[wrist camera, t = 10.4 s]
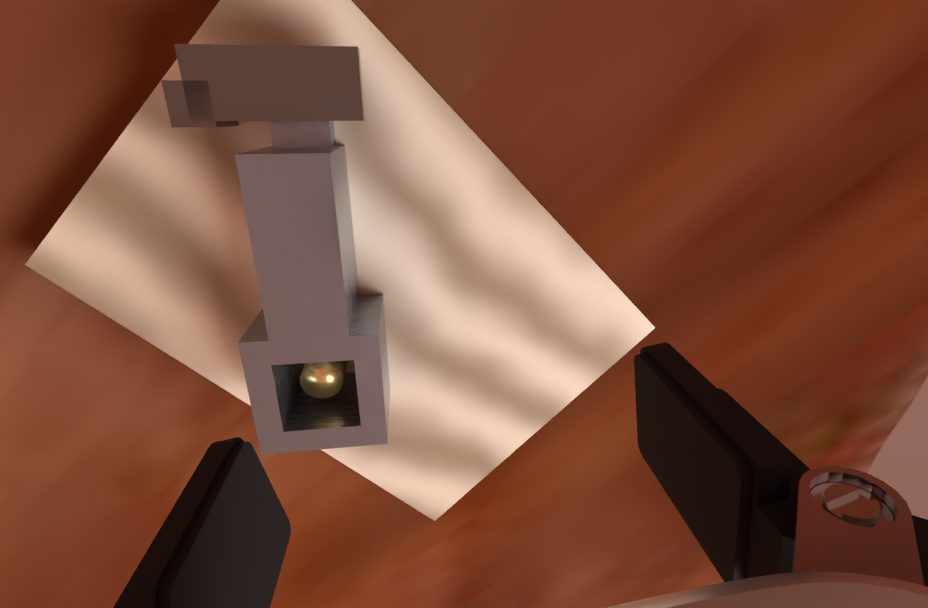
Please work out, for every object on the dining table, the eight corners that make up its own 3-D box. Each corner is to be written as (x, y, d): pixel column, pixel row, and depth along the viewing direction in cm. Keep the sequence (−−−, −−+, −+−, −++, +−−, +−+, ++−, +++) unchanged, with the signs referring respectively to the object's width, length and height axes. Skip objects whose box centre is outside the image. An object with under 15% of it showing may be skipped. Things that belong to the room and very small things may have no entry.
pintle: (333, 311, 32) (317, 354, 26) (360, 332, 32) (351, 378, 27) (310, 335, 32) (291, 382, 26) (338, 355, 33) (324, 405, 27)
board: (287, -64, 24) (277, -79, 22) (641, 316, 35) (655, 327, 33) (49, 254, 28) (25, 264, 26) (433, 501, 39) (434, 520, 37)
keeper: (199, 57, 25) (152, 43, 20) (365, 59, 26) (357, 46, 21) (213, 125, 26) (171, 127, 22) (370, 124, 27) (364, 126, 23)
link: (226, 53, 23) (172, 33, 18) (365, 55, 24) (355, 37, 19) (286, 394, 31) (261, 454, 26) (390, 387, 32) (387, 443, 26)
